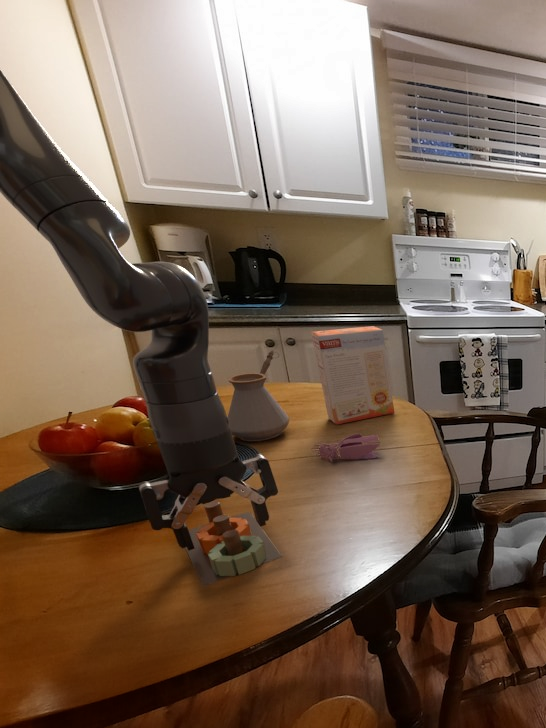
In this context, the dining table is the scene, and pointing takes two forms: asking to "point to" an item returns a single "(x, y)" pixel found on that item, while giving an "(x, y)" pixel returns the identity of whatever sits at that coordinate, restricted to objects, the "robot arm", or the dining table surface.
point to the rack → (226, 542)
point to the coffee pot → (255, 407)
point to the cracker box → (353, 373)
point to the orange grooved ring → (211, 539)
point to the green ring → (238, 557)
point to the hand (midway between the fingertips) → (227, 535)
